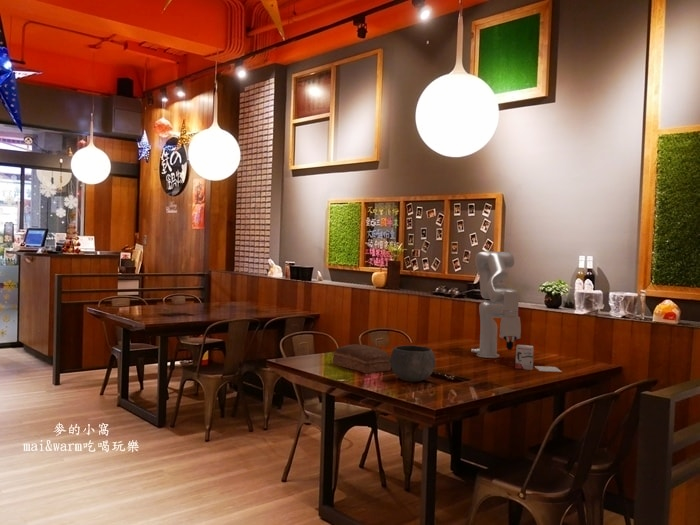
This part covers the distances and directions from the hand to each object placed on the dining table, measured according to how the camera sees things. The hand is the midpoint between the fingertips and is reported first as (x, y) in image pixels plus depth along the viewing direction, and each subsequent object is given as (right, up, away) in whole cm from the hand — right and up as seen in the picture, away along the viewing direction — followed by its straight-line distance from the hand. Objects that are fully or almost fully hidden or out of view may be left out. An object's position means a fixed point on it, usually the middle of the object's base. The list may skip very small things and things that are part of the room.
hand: (509, 349), depth 313 cm
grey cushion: (-77, -9, -6) cm, 77 cm away
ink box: (+7, -10, 0) cm, 13 cm away
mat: (+19, -10, -1) cm, 22 cm away
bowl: (-54, -9, -35) cm, 65 cm away
